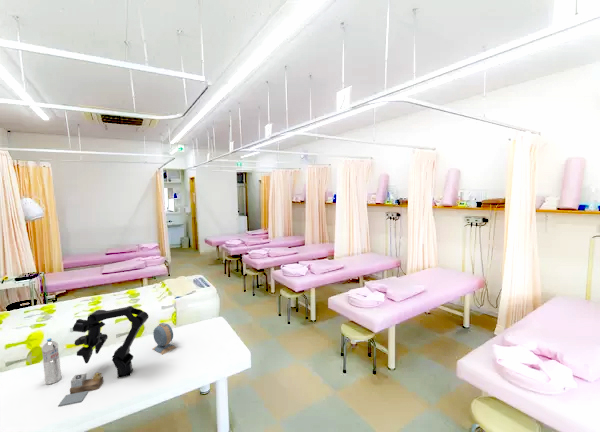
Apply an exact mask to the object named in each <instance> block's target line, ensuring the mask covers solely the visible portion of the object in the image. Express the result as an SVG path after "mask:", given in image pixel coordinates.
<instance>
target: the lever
mask: <svg viewBox="0 0 600 432" xmlns="http://www.w3.org/2000/svg"><path fill="white" fill-rule="evenodd" d="M101 377H103V376H102V372H95V373H94V375H93V376H92V379H93V381H98V380H100V379H101Z"/></svg>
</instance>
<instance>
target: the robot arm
mask: <svg viewBox="0 0 600 432" xmlns="http://www.w3.org/2000/svg"><path fill="white" fill-rule="evenodd" d="M135 315H136V316H135ZM124 316H125V317H126V318H127V320H128V321H129V322H130V323H131V329H130V330H129V332H128V334H127V336H126V338H125V340H124V341H123V343H122V345H120V346H119V347H118V348H117V349H116V350H115V351H114V353H113V356H112V357H111V358H112V359H111V361H112V363H113V365H114V367H115V368H116V374H117V378H118V379H120V378H125V377H126V378H127V377H130V376H131V375H132V372H133V371H134V368H133V364H132V363H133V362H132V360H133V358H134V355H133V354H131V353H130V352H131V349H130V348H131V346H132V345H133V342H134V340H135V338H136V337H137V334H138V333H139V331H140V329H141V328H142V327H143V325H144V324H145V323H146V322H147V320H148V319H149V314H148V312H146V311H143V310H142V309H139V308H135V307H134V306H132V305H129V306H126V307H125V306H124V307H120V308H116V309H110V310H105V309H97V310H96V311H93V312H92V313H90V314H88V316H87V319H82V318H78V319H76V321H75V323H74V324H73V326H72V331H73V332H76V333H77V332H78V333H87V335H82V336H79V337H78V338H77V339H75V340H74V343H73V344H74V346H76V347H77V346H81V345H84V346H82V347H81V348H79V350H78V351H76V356H77V357H78V356H79V357H82V358H83V360H84V363H85V364H88V363H89V361H90V359H91V357H92V355H93V351H94V352H95V354H96V355H97V354H99V352H100V351H101V349H102V347H103V346H104V345H105V342H106V341H107V339H108V337H109V336H108V335H107V333H102V332H101V330H102V329H101V328H103V327H104V326H106V323H105V322H103V321H104V320H109V319H114V318H119V317H124ZM94 348H95V350H94Z"/></svg>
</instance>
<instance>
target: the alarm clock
mask: <svg viewBox="0 0 600 432" xmlns="http://www.w3.org/2000/svg"><path fill="white" fill-rule="evenodd" d="M152 335H153V339H154V342H155V343H156V346H155V347H153V348H152V350H153V351H154V352H157V353H158V354H160V355H164V354H167V353H168V352H170V351H172V350H174V349H177V347H176V346H175V345H173V344H171V342H172V341H173V339H174V332H173V329H172V327H171V326H170V324H169V323H164V322H161V323H159V324H157V326H155V327H154V330H153V334H152Z"/></svg>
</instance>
